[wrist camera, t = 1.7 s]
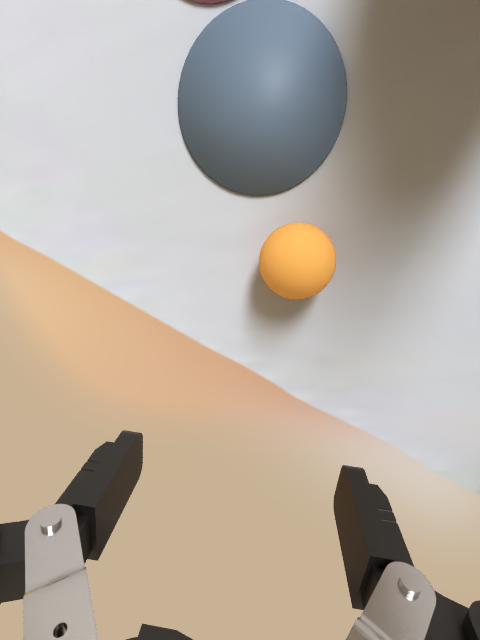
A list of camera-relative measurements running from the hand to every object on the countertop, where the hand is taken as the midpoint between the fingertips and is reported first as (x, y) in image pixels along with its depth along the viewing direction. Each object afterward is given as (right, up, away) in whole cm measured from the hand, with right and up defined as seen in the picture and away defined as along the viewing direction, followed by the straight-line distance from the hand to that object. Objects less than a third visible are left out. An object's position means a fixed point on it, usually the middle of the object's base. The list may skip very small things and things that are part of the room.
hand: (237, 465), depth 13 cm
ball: (+5, +10, +13) cm, 17 cm away
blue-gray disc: (+2, +22, +13) cm, 26 cm away
